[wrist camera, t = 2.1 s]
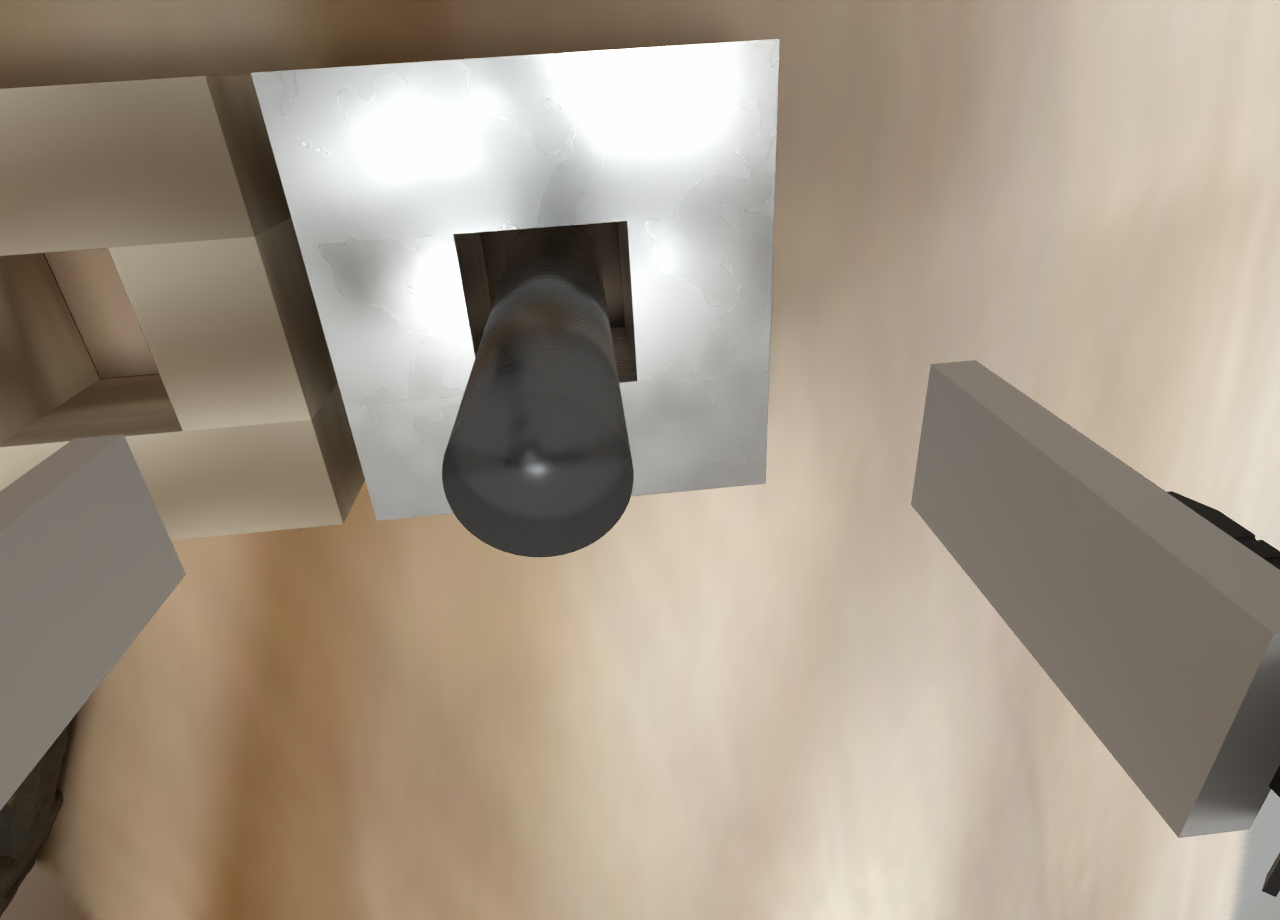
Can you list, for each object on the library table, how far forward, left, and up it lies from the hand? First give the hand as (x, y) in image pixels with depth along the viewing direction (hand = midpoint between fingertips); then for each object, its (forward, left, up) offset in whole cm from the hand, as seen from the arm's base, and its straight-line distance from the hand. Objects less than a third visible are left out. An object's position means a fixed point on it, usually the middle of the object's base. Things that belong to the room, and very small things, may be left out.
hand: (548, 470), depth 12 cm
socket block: (0, 0, -13) cm, 13 cm away
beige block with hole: (0, -13, -13) cm, 19 cm away
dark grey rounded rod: (0, 0, -13) cm, 13 cm away
